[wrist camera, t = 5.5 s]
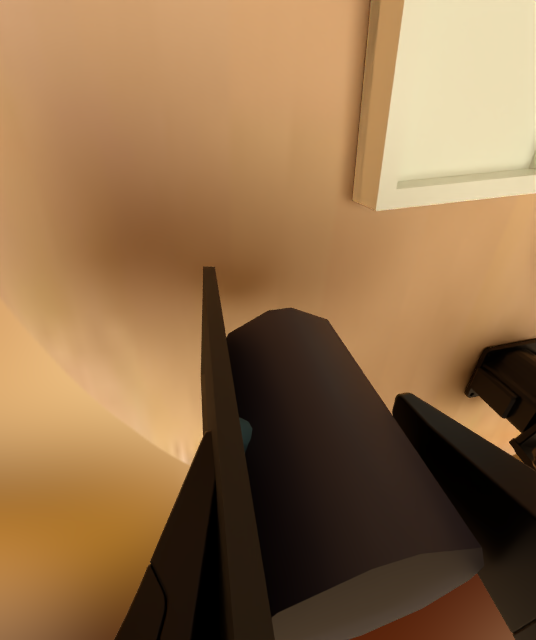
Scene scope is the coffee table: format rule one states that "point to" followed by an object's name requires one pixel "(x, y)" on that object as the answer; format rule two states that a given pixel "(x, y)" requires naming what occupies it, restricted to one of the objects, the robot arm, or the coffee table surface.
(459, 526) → the speaker
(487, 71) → the tray
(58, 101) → the coffee table surface
